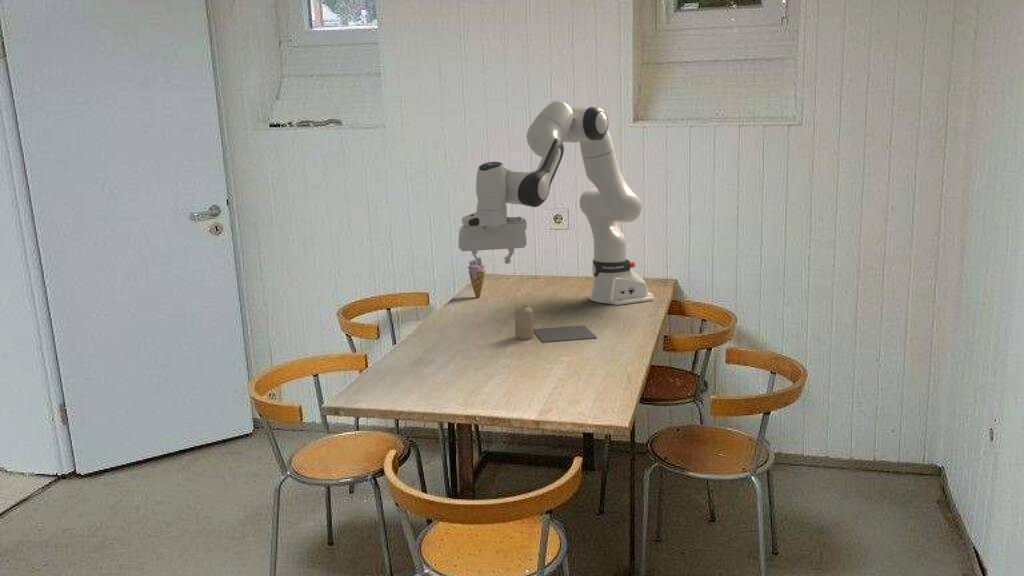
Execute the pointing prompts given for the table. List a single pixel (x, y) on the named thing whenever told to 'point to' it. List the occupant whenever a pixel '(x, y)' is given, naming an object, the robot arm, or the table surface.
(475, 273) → the ice cream cone
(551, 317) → the table surface
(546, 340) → the mat
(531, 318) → the candle
